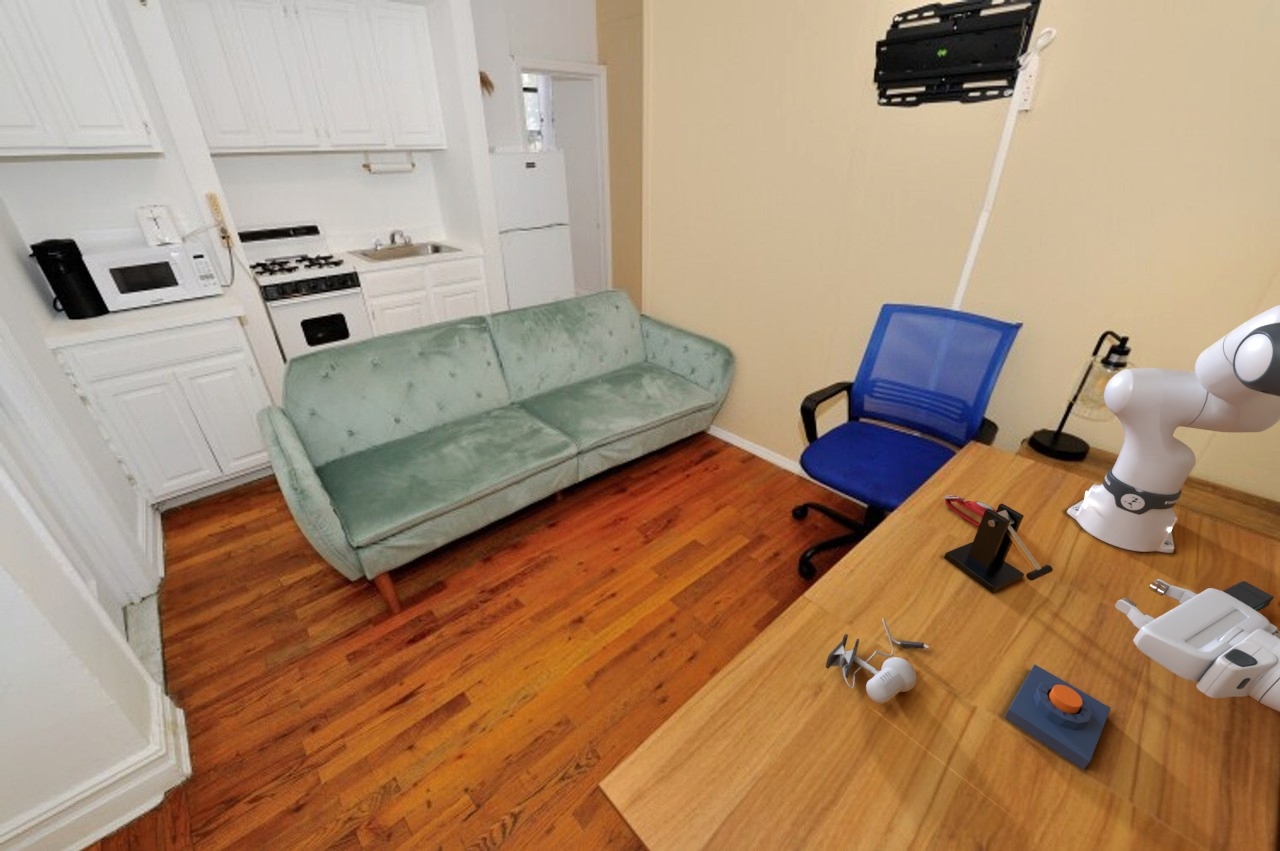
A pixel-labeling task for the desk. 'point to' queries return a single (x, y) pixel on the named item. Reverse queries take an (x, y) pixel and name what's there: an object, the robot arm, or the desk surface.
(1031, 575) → the switch lever
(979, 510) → the tracker holder
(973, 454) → the desk surface
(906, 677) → the clip-on lamp
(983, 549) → the switch bracket
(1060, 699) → the button
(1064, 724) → the control block
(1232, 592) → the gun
